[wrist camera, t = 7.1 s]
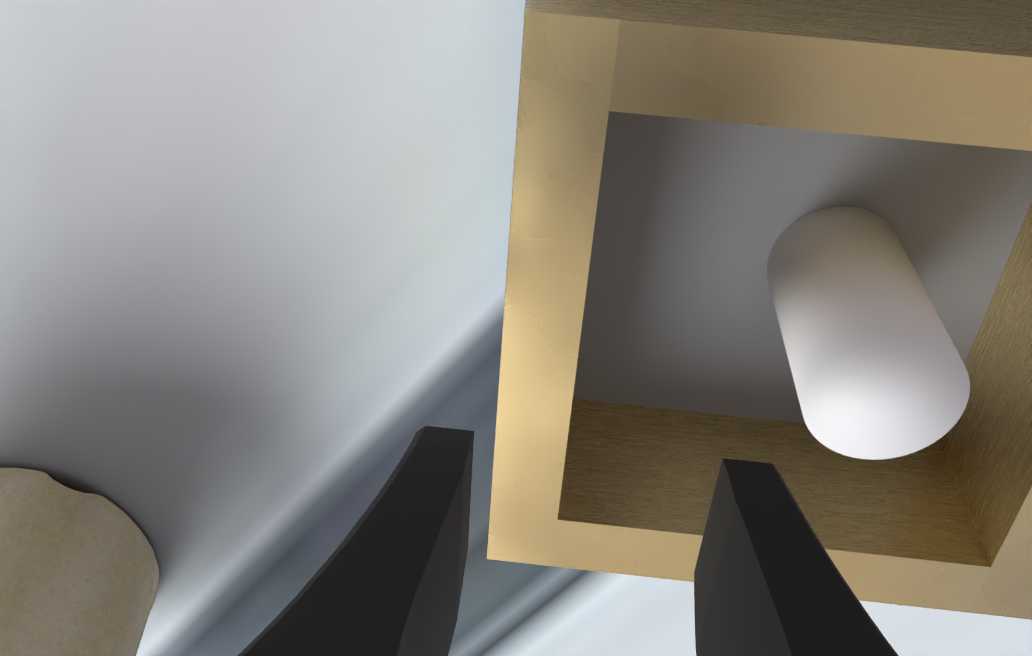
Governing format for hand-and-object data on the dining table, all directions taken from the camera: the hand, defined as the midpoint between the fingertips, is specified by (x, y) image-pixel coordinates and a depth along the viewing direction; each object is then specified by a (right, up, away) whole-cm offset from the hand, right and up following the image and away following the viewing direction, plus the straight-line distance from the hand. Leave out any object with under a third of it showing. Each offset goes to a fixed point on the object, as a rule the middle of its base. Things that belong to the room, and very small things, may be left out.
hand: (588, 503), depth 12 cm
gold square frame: (+4, +4, +5) cm, 8 cm away
